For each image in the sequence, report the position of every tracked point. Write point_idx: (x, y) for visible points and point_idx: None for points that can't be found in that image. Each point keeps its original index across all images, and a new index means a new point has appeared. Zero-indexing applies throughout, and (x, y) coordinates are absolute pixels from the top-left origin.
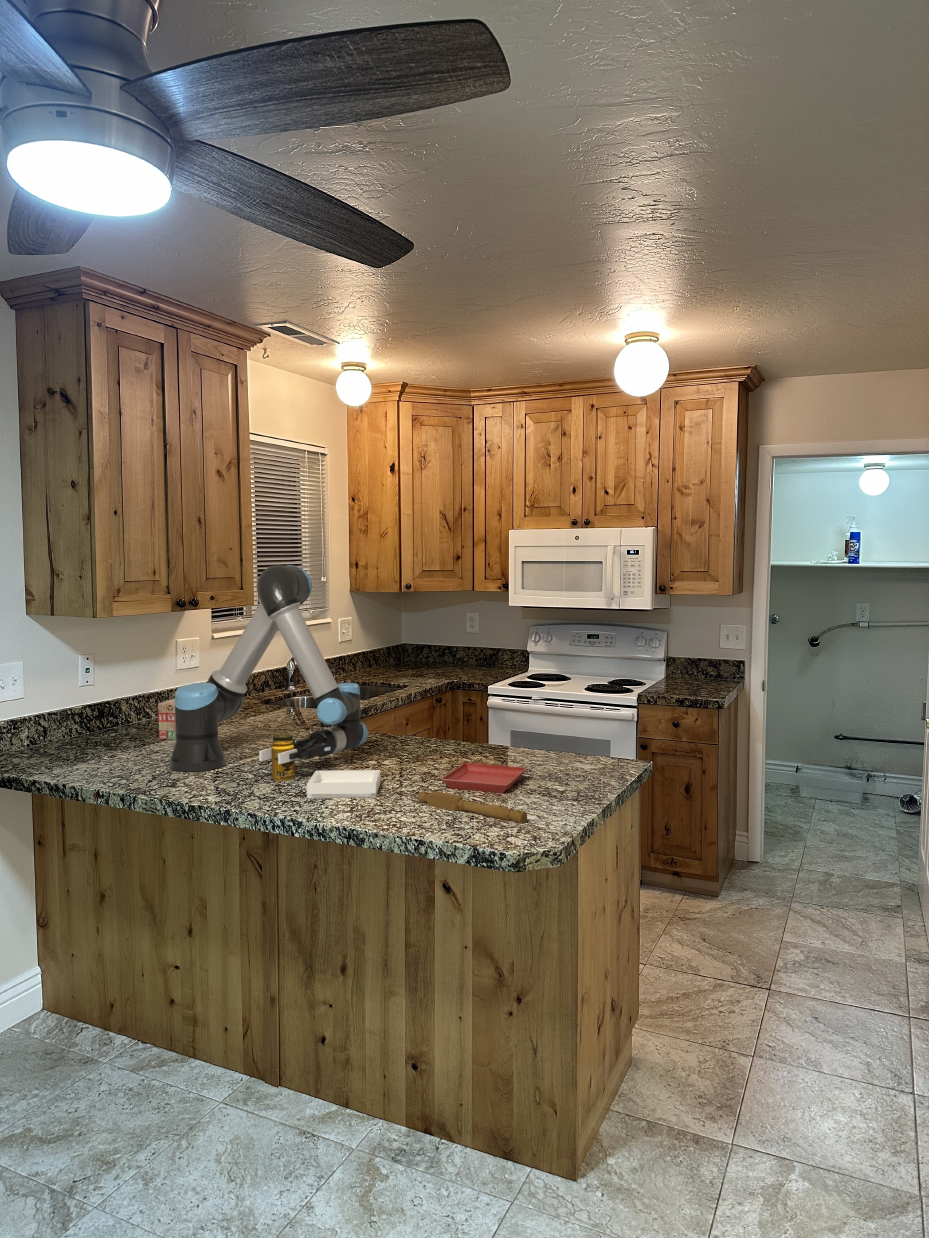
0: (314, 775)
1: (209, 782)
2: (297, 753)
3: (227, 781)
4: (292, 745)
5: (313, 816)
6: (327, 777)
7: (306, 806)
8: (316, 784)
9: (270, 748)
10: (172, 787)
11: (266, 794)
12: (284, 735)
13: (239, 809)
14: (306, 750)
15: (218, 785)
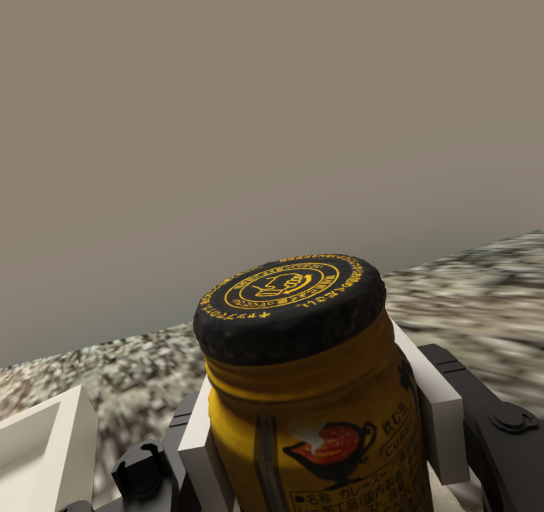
0: (52, 473)
1: (510, 330)
2: (163, 442)
3: (496, 365)
4: (213, 398)
5: (68, 364)
6: None
7: (91, 384)
8: (46, 401)
9: (397, 342)
10: (488, 281)
11: None
12: (294, 294)
13: None
14: (69, 504)
15: (442, 335)
